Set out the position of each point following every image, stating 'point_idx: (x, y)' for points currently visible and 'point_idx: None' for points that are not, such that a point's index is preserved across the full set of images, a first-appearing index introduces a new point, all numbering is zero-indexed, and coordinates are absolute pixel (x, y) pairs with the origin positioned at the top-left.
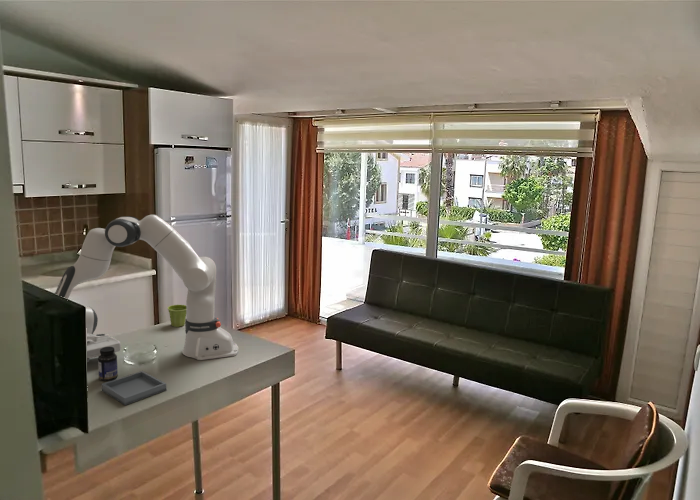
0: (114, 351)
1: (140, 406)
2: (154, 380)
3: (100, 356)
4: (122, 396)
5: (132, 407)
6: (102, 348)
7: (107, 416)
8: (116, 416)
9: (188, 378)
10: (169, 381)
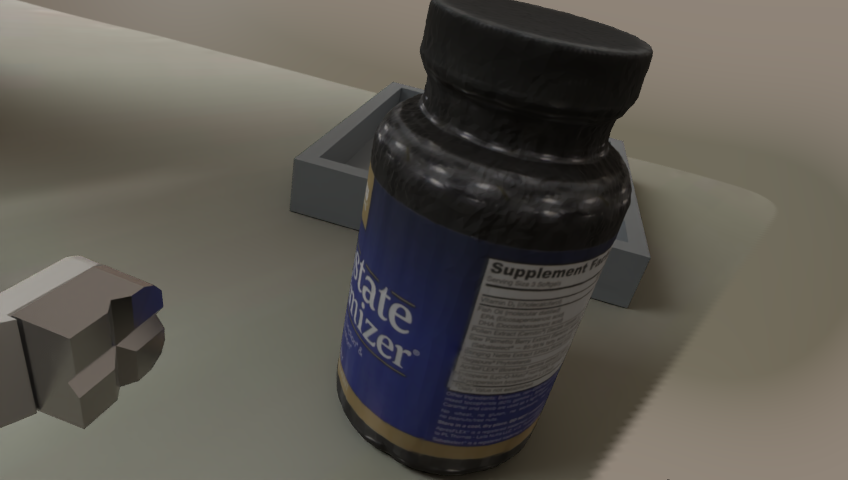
0: (91, 263)
1: None
2: (375, 118)
3: (610, 158)
4: (623, 149)
5: None
6: (584, 42)
7: (712, 192)
8: (680, 174)
9: (218, 88)
10: (287, 123)
